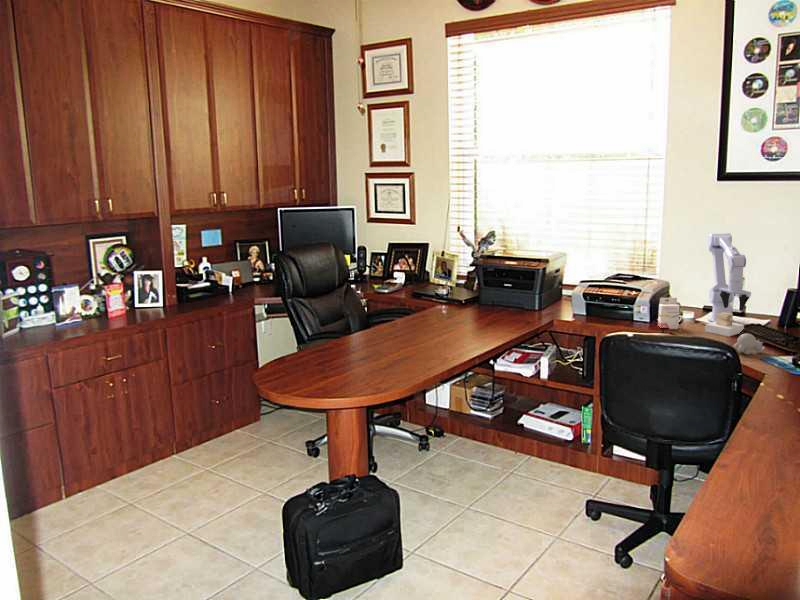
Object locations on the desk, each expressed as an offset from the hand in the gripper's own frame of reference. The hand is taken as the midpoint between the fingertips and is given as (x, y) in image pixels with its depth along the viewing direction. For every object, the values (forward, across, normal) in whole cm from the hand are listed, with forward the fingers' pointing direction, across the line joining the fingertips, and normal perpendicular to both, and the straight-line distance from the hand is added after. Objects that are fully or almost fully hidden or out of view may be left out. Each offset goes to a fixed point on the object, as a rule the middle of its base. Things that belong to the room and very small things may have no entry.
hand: (733, 308), depth 315 cm
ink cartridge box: (+11, -22, -18) cm, 30 cm away
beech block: (+7, -1, -5) cm, 9 cm away
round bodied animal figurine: (+10, +25, -28) cm, 39 cm away
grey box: (+11, -1, -5) cm, 12 cm away
